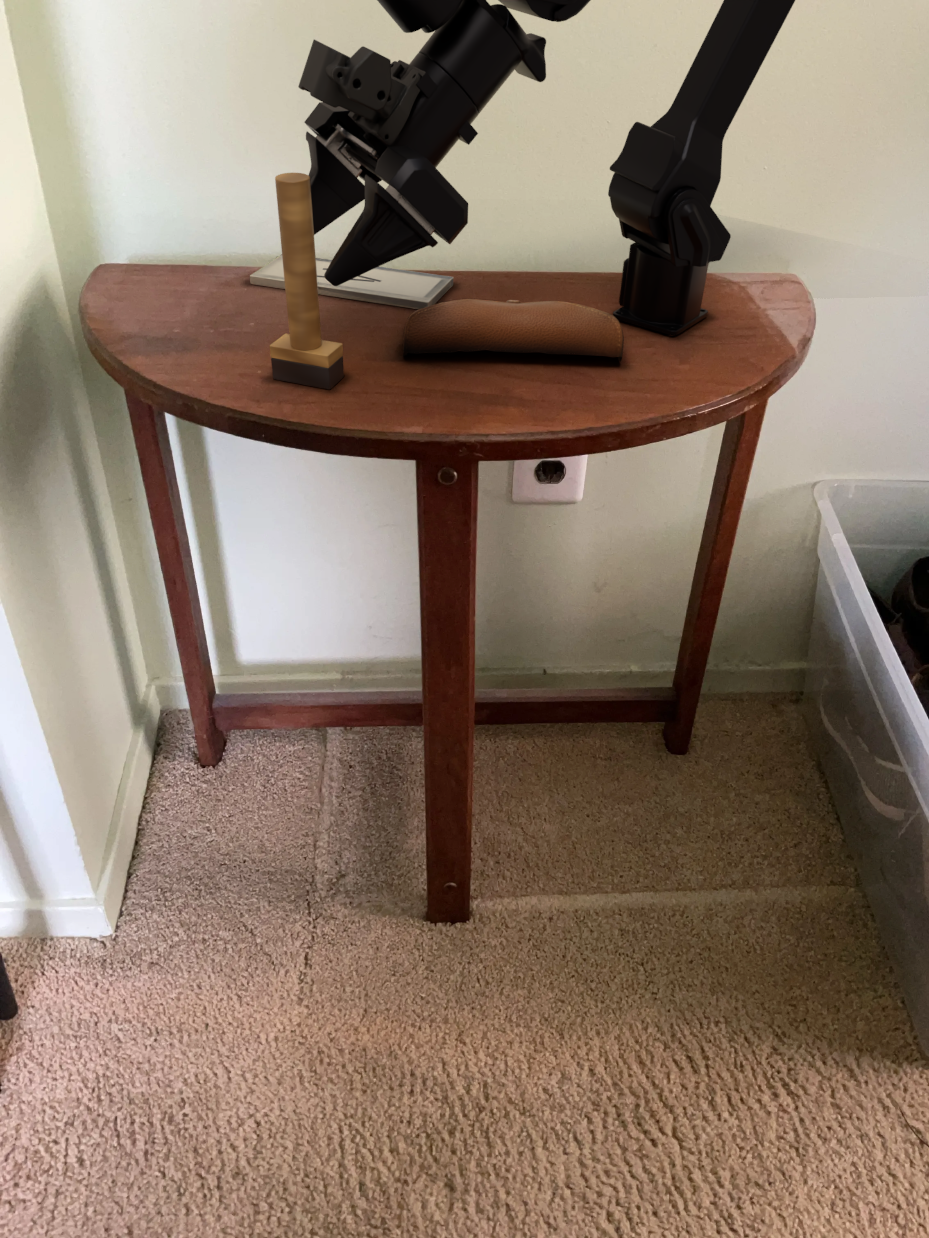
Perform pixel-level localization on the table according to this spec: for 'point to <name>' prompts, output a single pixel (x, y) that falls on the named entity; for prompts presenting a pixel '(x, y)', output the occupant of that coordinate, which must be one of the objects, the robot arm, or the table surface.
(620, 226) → the robot arm
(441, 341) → the sunglasses case
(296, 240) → the tan piece
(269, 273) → the board
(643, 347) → the table surface
